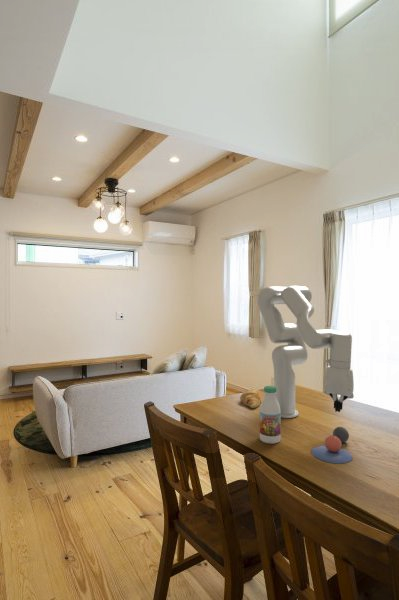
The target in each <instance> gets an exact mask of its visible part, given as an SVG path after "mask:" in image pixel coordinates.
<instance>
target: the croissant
mask: <svg viewBox="0 0 399 600" xmlns="http://www.w3.org/2000/svg"><path fill="white" fill-rule="evenodd" d="M239 398H240V401H241V403H242V404H243V405H246V407H249V408H251V409H256V408H258V407H259V406H261V403H262V401H261V396H260V394H259V393H258V392H257V391H256V390H254V389H252V388H251V389H248V390H245V391H244V392H242V393H241V395H240V397H239Z"/></svg>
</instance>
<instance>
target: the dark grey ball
mask: <svg viewBox="0 0 399 600" xmlns="http://www.w3.org/2000/svg"><path fill="white" fill-rule="evenodd" d="M332 435H334V436H336V437H338V438H339V439H340V441H341V444H343V443H345V442H346V443H347V441H348V440H349V437H350V434H349V431H348V429H346V428H345V427H343V426H338V427H335V428H334V429H333V432H332Z"/></svg>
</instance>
